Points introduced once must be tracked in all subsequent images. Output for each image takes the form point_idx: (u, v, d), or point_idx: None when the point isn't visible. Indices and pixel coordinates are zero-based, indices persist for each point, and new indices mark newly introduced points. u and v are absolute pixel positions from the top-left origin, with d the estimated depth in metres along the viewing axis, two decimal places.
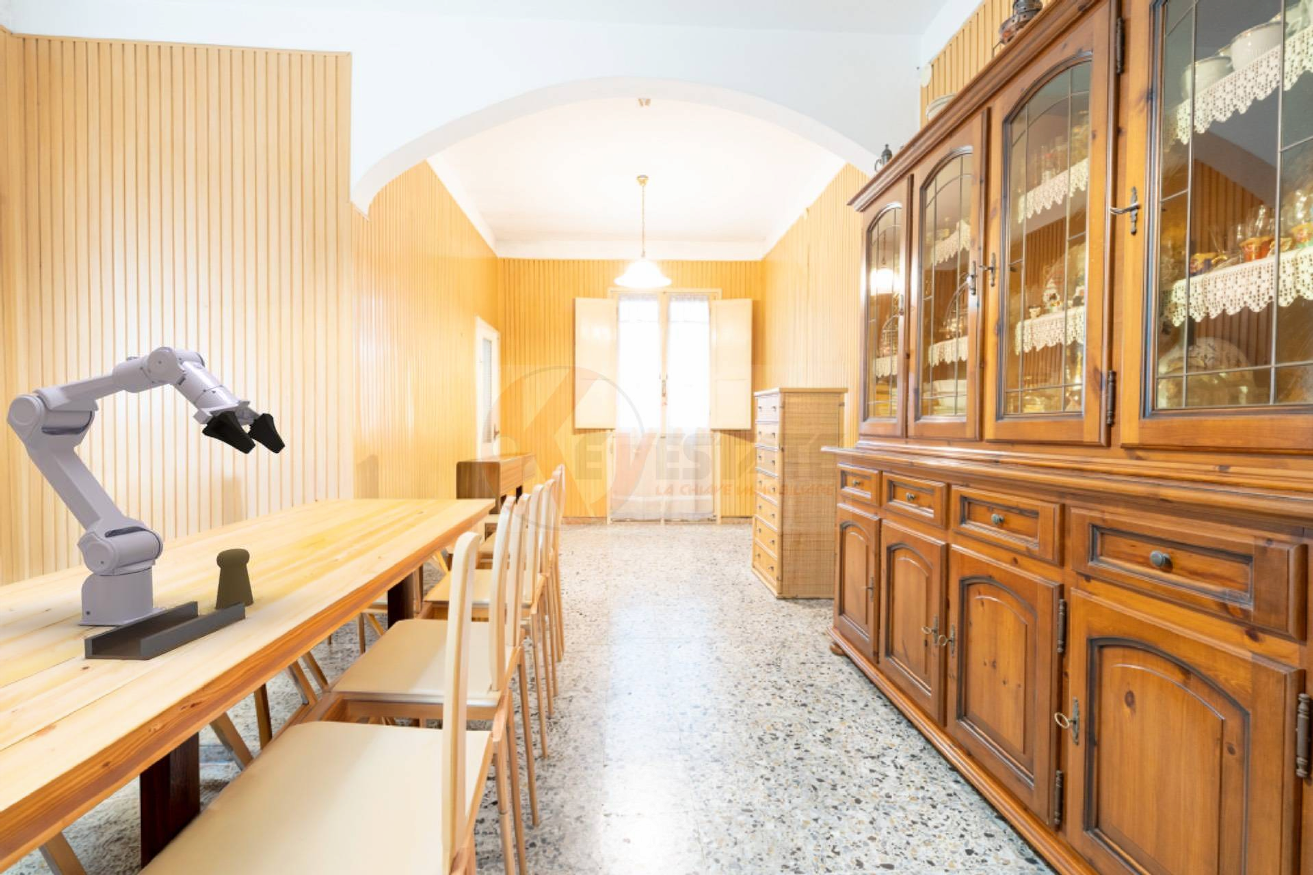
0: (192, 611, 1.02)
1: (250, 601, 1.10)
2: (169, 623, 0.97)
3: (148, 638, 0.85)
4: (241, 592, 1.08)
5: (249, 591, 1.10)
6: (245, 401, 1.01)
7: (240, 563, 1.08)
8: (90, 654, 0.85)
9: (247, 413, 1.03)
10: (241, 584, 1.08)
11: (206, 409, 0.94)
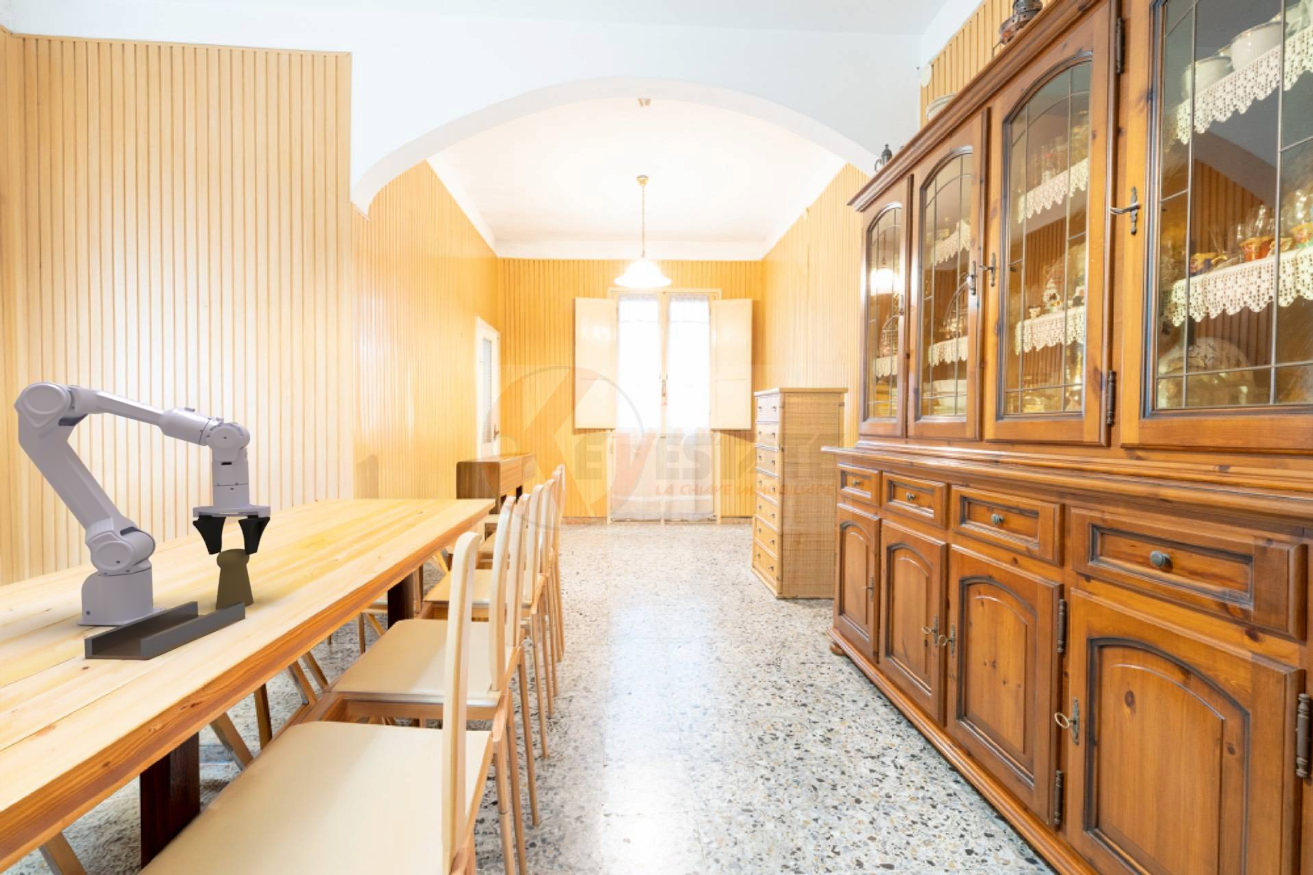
0: (192, 611, 1.02)
1: (250, 601, 1.10)
2: (169, 623, 0.97)
3: (148, 638, 0.85)
4: (241, 592, 1.08)
5: (249, 591, 1.10)
6: None
7: (240, 563, 1.08)
8: (90, 654, 0.85)
9: None
10: (241, 584, 1.08)
11: None
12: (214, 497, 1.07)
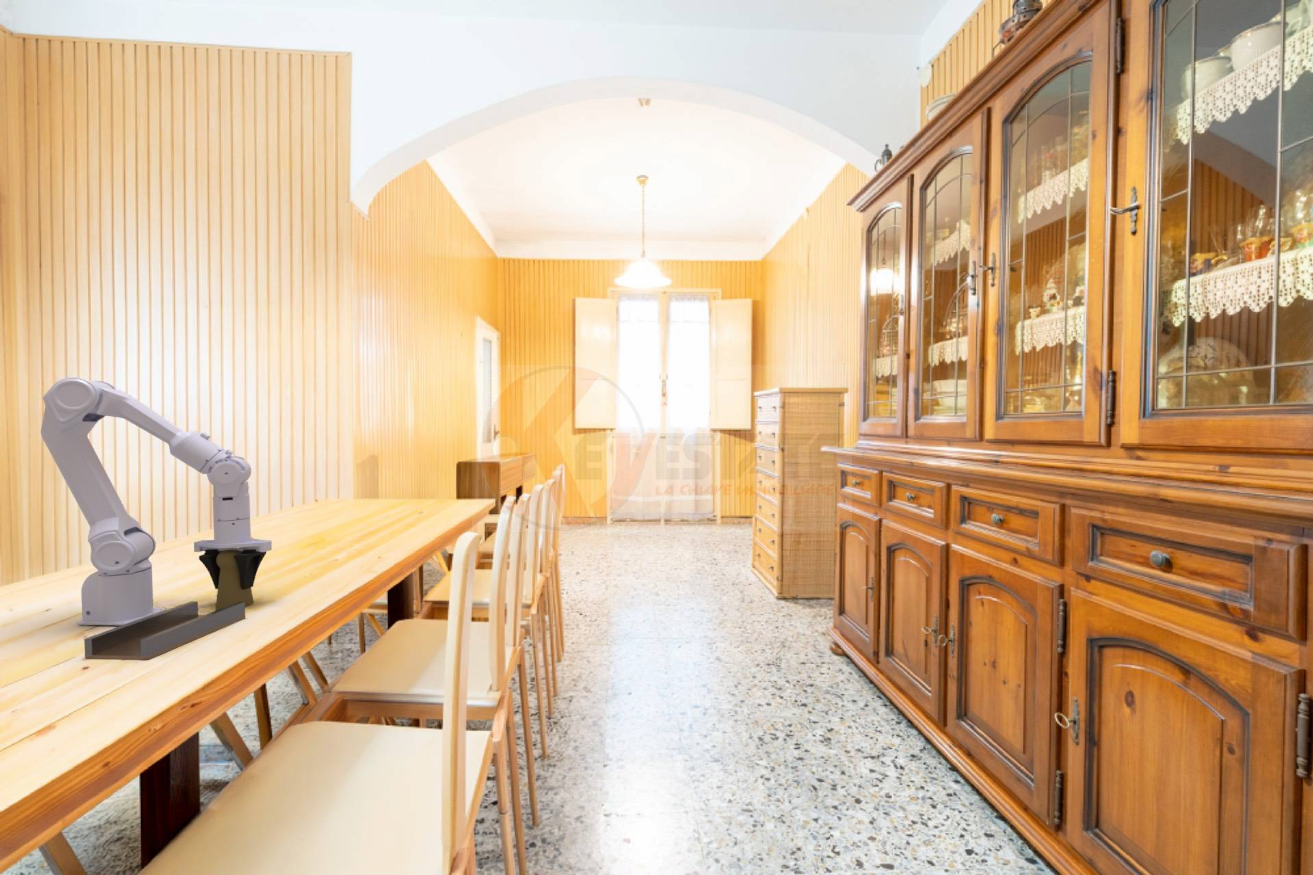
0: (192, 611, 1.02)
1: (250, 601, 1.10)
2: (169, 623, 0.97)
3: (148, 638, 0.85)
4: (241, 592, 1.08)
5: (249, 591, 1.10)
6: None
7: None
8: (90, 654, 0.85)
9: None
10: None
11: None
12: (215, 532, 1.07)
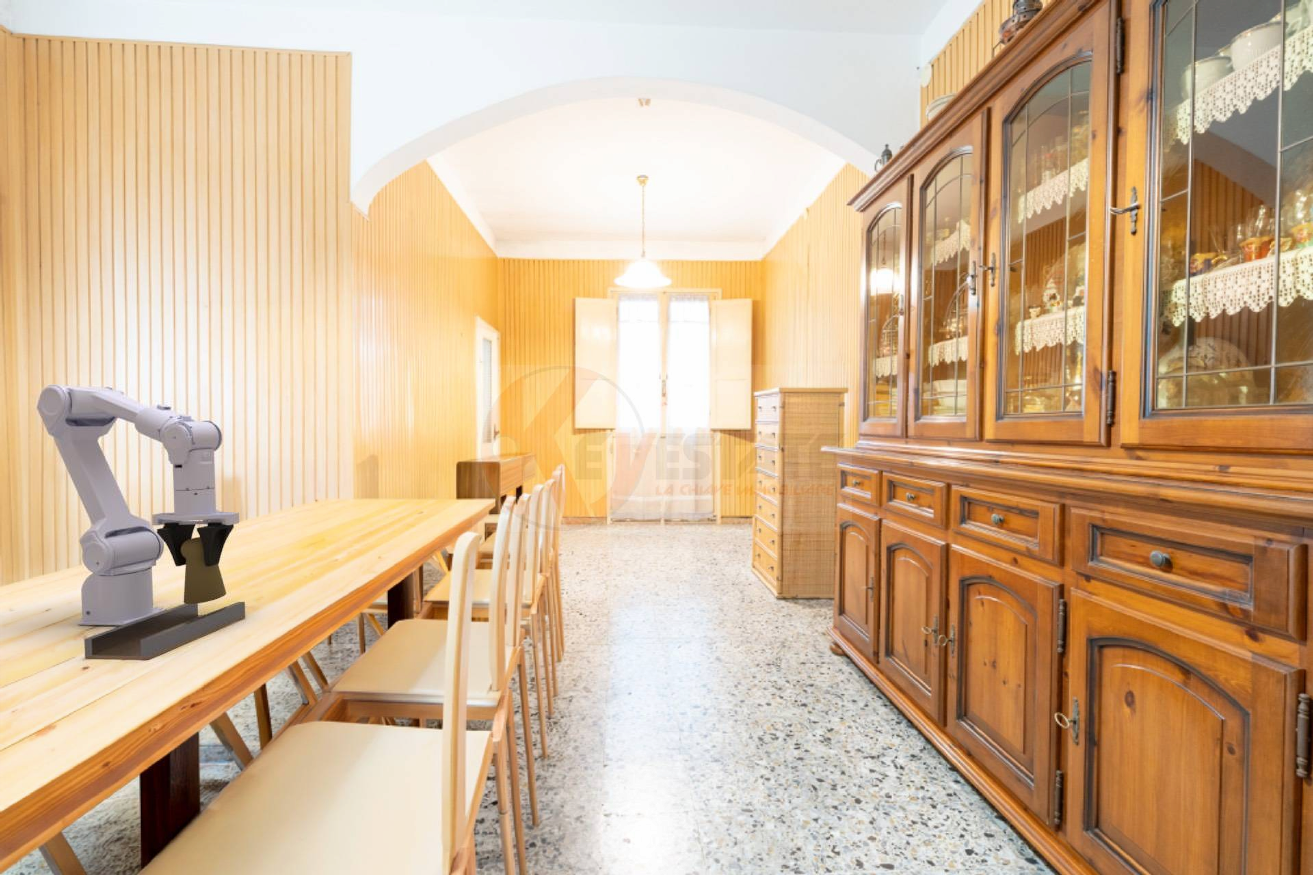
0: (192, 611, 1.02)
1: (222, 593, 1.01)
2: (169, 623, 0.97)
3: (148, 638, 0.85)
4: (211, 584, 0.99)
5: (220, 582, 1.01)
6: None
7: None
8: (90, 654, 0.85)
9: None
10: (209, 575, 0.99)
11: None
12: (175, 503, 0.97)
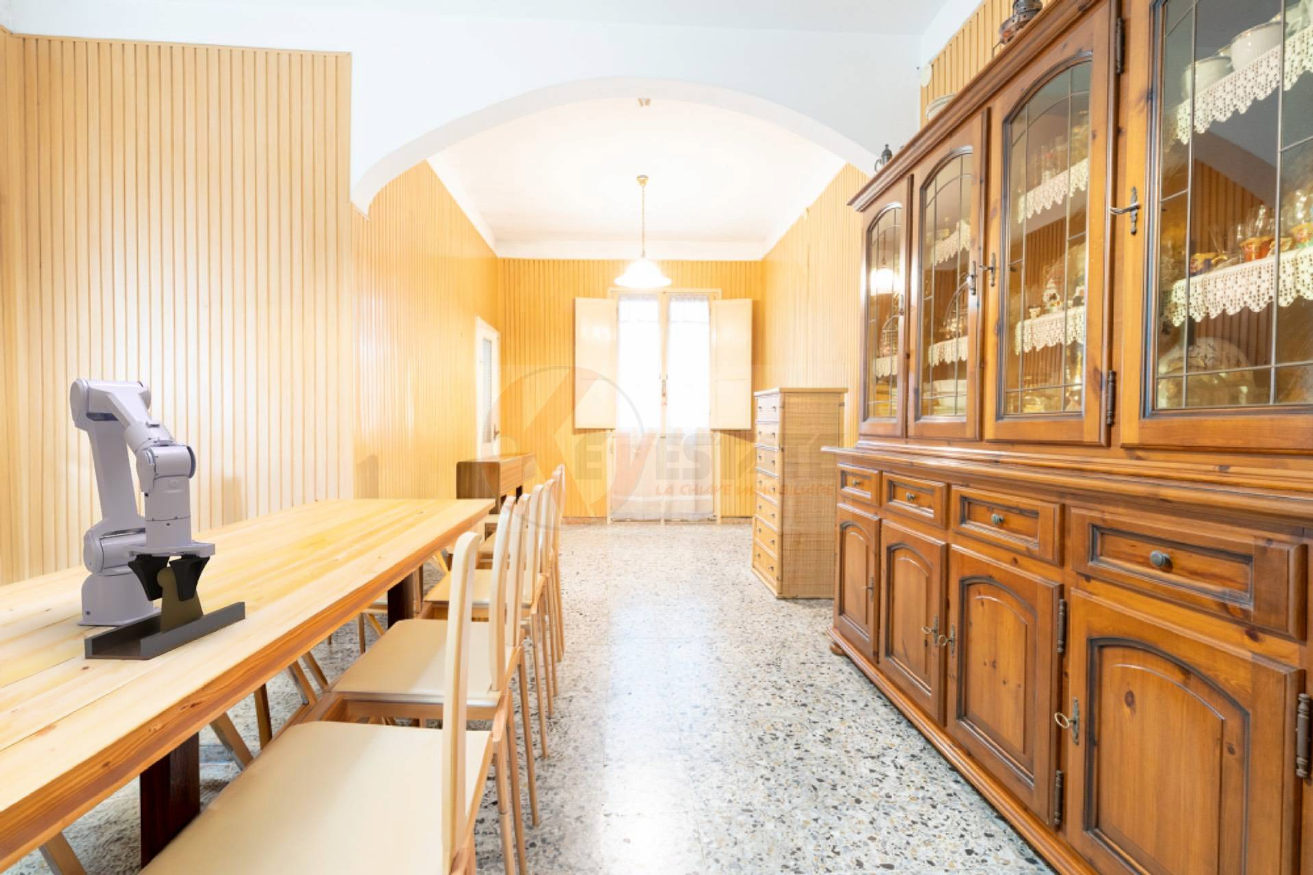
0: None
1: None
2: None
3: (148, 638, 0.85)
4: (189, 614, 0.94)
5: (199, 612, 0.95)
6: None
7: None
8: (90, 654, 0.85)
9: None
10: (187, 605, 0.94)
11: None
12: (147, 534, 0.91)
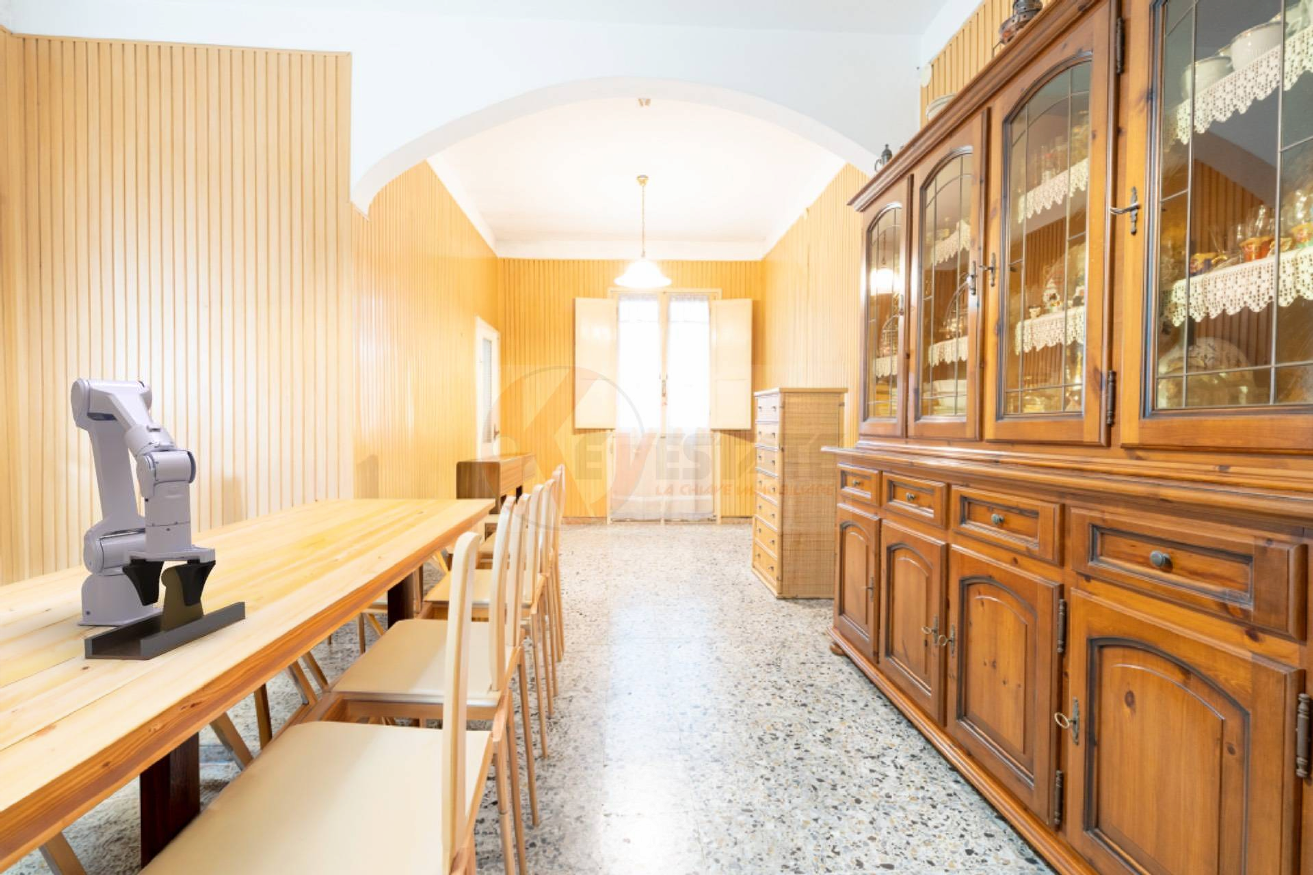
0: None
1: None
2: None
3: (148, 638, 0.85)
4: (190, 615, 0.94)
5: (200, 613, 0.96)
6: None
7: None
8: (90, 654, 0.85)
9: None
10: (189, 606, 0.94)
11: None
12: (147, 539, 0.91)
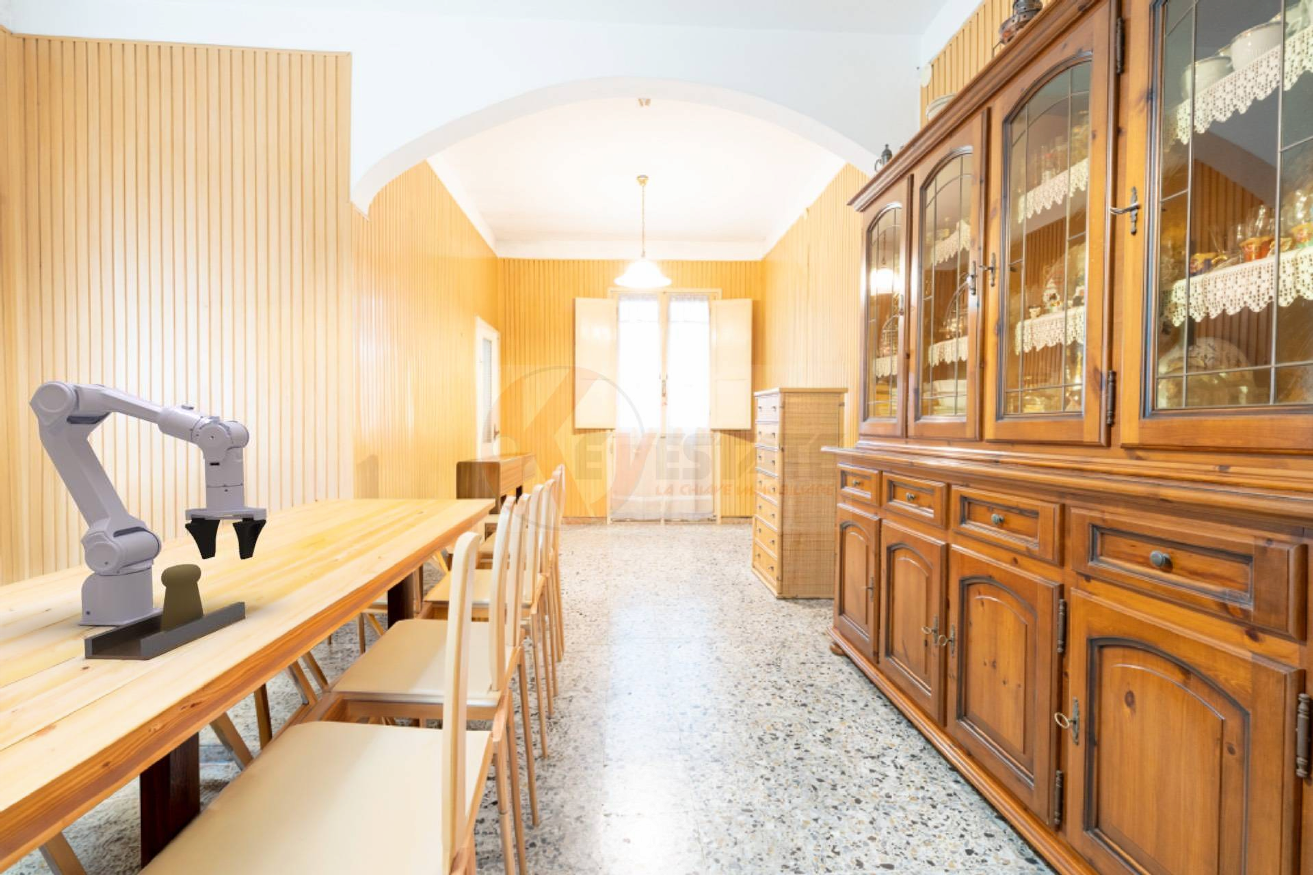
0: None
1: None
2: None
3: (148, 638, 0.85)
4: (190, 615, 0.94)
5: (200, 613, 0.96)
6: None
7: (189, 581, 0.94)
8: (90, 654, 0.85)
9: None
10: (189, 606, 0.94)
11: None
12: (207, 499, 1.02)
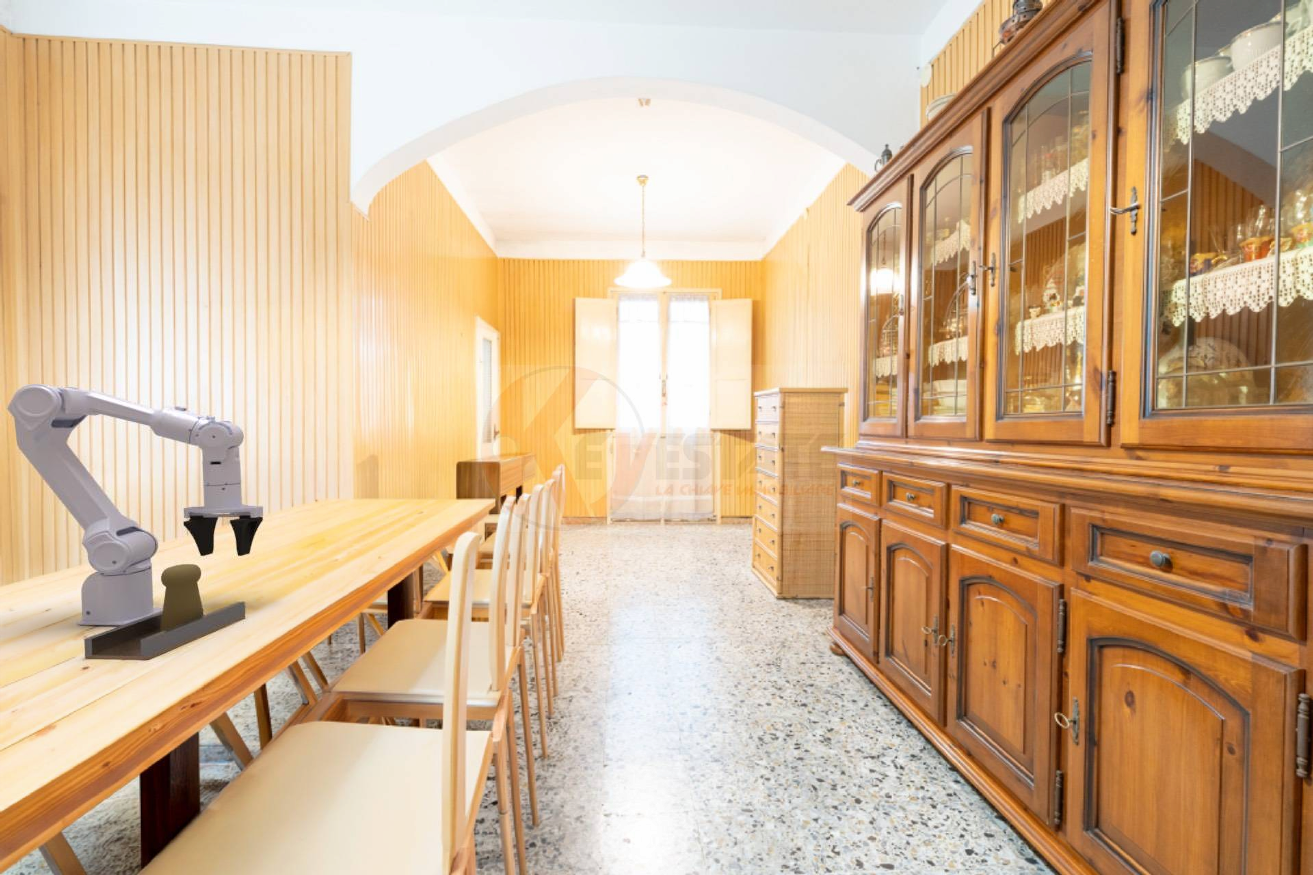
0: None
1: None
2: None
3: (148, 638, 0.85)
4: (190, 615, 0.94)
5: (200, 613, 0.96)
6: None
7: (189, 581, 0.94)
8: (90, 654, 0.85)
9: None
10: (189, 606, 0.94)
11: None
12: (205, 497, 1.05)
